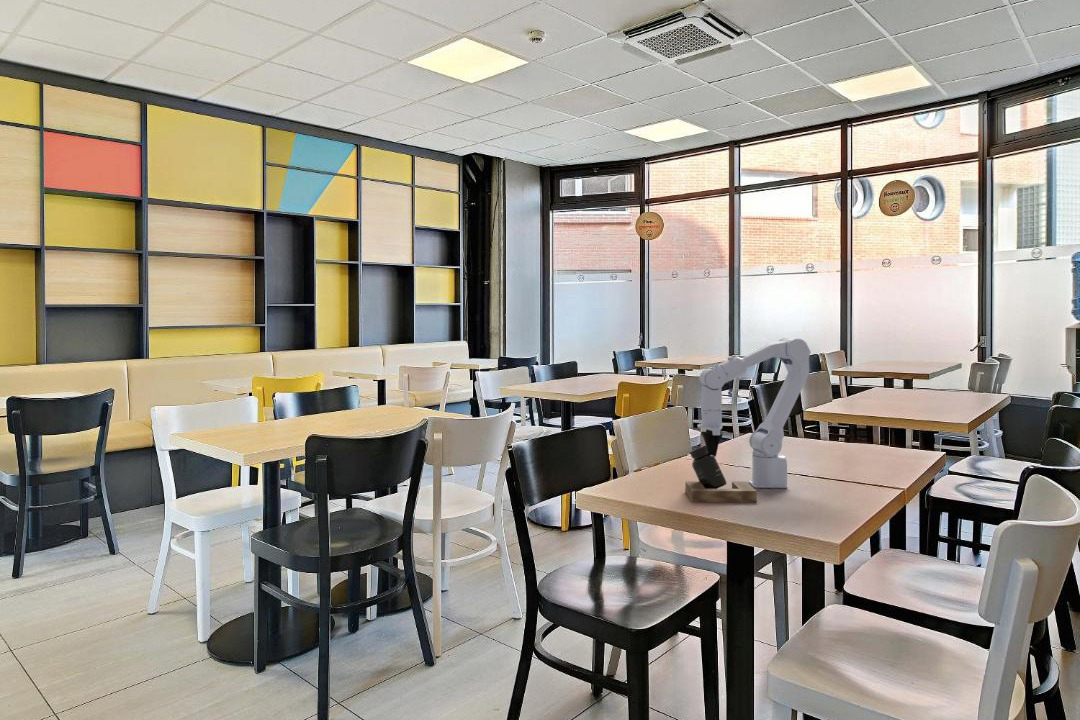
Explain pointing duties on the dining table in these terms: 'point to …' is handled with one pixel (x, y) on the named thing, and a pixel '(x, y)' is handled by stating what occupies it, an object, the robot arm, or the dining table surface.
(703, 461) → the supplement bottle
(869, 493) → the dining table surface
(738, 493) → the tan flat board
